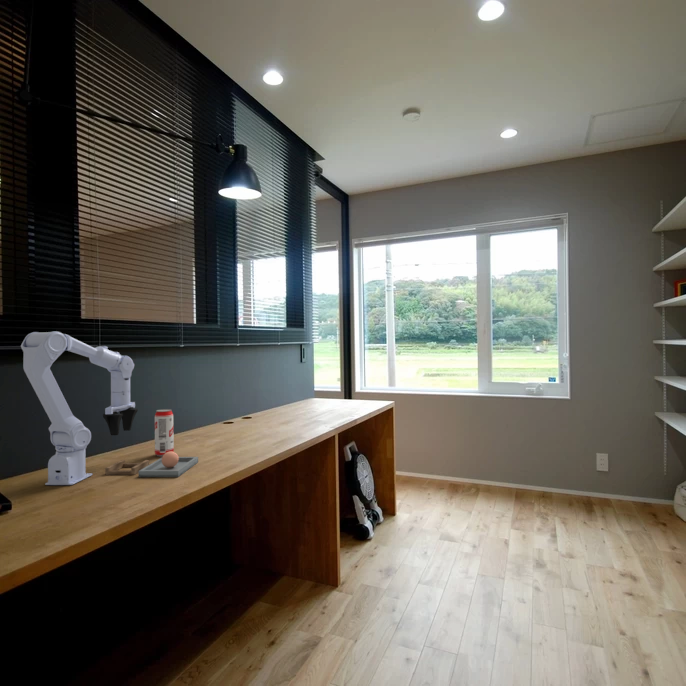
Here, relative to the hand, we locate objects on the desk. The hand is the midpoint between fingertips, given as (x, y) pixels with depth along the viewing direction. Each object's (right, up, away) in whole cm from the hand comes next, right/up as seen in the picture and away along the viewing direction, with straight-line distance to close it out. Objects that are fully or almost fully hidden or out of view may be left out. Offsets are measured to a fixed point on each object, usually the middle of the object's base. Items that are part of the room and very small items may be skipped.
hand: (121, 432), depth 140 cm
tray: (+19, -10, -7) cm, 22 cm away
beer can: (+9, -11, +12) cm, 18 cm away
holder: (+6, -10, -7) cm, 14 cm away
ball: (+19, -7, -7) cm, 21 cm away
